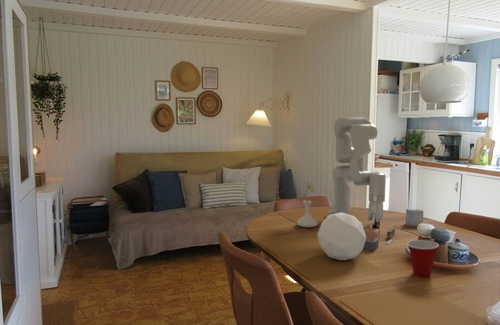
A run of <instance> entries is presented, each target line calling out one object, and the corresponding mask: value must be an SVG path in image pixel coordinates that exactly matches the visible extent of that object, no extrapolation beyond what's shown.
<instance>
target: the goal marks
mask: <svg viewBox="0 0 500 325" xmlns="http://www.w3.org/2000/svg"><path fill="white" fill-rule="evenodd" d="M393 240H394V239H392V238H391V239H388V241H387V242H386V243H385V245H387V246H388V245H389V244H391V243H392V242H393Z"/></svg>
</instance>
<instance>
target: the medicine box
mask: <svg viewBox="0 0 500 325" xmlns="http://www.w3.org/2000/svg"><path fill="white" fill-rule="evenodd" d="M405 212H406V213H405V225H407V227H408V226H409V227H413V226H414V227H418V226H417V225H418V224H420V223H423V224H424V212H425V211H424V210H423V209H422V208H421V209H420V208H406V209H405Z"/></svg>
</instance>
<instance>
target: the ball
mask: <svg viewBox="0 0 500 325" xmlns="http://www.w3.org/2000/svg"><path fill="white" fill-rule="evenodd" d="M363 226H364V225H363V223H362V222H361V221H360V220H359V219H357V218H356V217H355V216H354V215H353V214H352V215H351V214H350V215H348V214H345V213H342V212H340V213H336V214H332V215H331V214H327V216H326V217H325V219H324V220H323V221H322V222H321V224H320V226H319V229H318V232H317V235H316V237H317V239H318V242H319V244H320V247H321V250H323V252H324V253H325V254H326V255H327V256H328V257H329V258H332V259H334V260H338V261H340V260H342V261H341V262H343V260H344V261H347V260H351V259H355V258H356V257H357V256H358V255H359V254H360V253H361V252H362V251H363V250H364V249H363V247H364V243H365V240H366V235H365V232H364V228H363Z"/></svg>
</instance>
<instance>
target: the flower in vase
mask: <svg viewBox="0 0 500 325" xmlns="http://www.w3.org/2000/svg"><path fill="white" fill-rule="evenodd" d="M304 185H305V187H306V190H305V193H303V197H304V198H305V200H303V201H302V203H303V205H304V210H305V211H304V215H303V216H302V217H300V218H299V219H298V220H297V221H296V224H297V226H298V227H302V228H315V227H316V226H317V225H318V221H317V220H316V219H315V218H314V217H312V216H311V214H310V208H311V204H312V203H313V201H311V200H308V199H309V198H311V195H309V196H308V197H307V191H309V192H310V193H313V194H314V192H315V188H314V185H313V184H311V182H310V181H308V180H305V181H304Z"/></svg>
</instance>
